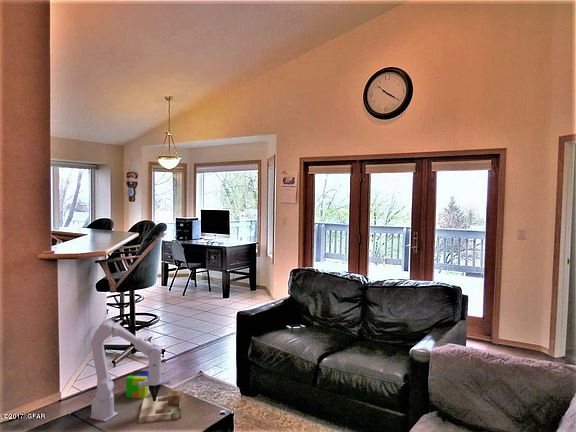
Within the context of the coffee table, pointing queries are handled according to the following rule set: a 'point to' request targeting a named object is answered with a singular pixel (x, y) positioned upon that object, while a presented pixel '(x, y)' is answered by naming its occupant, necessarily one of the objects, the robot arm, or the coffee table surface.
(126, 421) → the coffee table surface
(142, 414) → the trap board
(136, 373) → the puzzle toy
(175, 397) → the block
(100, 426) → the coffee table surface
